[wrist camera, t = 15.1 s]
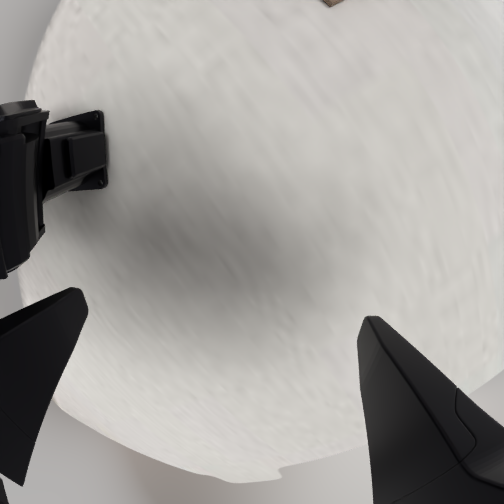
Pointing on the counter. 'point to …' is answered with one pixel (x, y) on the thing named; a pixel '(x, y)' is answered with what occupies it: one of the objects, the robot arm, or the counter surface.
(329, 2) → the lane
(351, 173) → the counter surface
